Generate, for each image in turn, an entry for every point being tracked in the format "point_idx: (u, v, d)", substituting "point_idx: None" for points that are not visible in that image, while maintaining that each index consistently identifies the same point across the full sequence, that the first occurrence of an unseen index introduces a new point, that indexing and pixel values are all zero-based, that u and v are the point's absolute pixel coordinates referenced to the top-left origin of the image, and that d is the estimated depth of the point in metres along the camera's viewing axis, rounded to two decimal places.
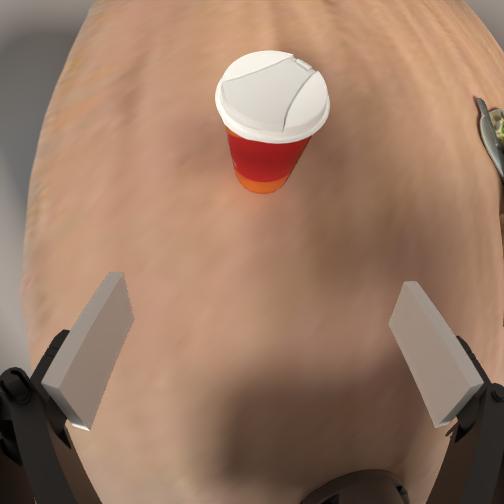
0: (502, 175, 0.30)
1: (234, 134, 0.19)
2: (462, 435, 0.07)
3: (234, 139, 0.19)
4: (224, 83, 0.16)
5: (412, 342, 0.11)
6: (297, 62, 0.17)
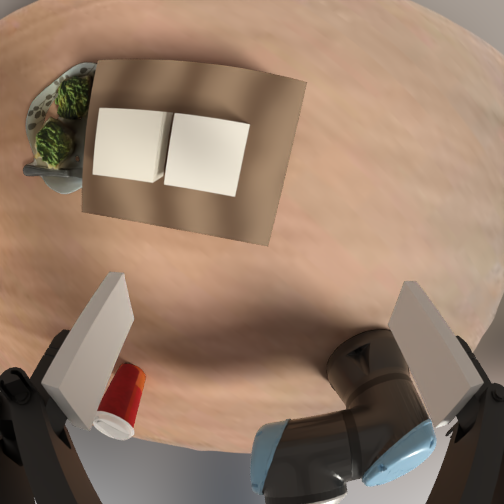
0: None
1: None
2: (462, 435, 0.07)
3: None
4: (114, 438, 0.38)
5: (412, 342, 0.11)
6: (96, 420, 0.36)
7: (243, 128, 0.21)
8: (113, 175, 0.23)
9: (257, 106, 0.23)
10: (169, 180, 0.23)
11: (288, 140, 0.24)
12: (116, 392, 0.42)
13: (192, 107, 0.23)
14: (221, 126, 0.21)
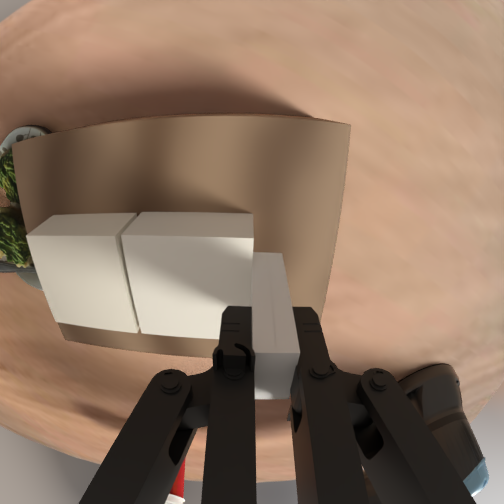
0: None
1: None
2: None
3: None
4: None
5: None
6: None
7: (243, 246, 0.13)
8: (81, 324, 0.15)
9: (273, 182, 0.14)
10: (147, 328, 0.15)
11: (331, 228, 0.16)
12: None
13: (164, 200, 0.15)
14: (204, 248, 0.13)
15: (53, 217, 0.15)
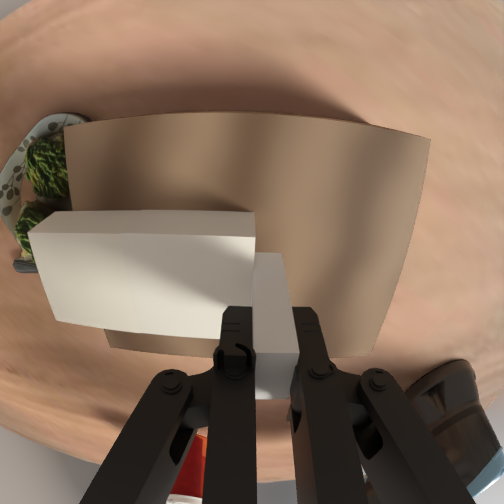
0: None
1: None
2: None
3: None
4: None
5: None
6: None
7: (245, 245, 0.13)
8: (83, 323, 0.15)
9: (364, 187, 0.14)
10: (146, 328, 0.15)
11: (406, 232, 0.16)
12: (185, 470, 0.36)
13: (257, 199, 0.15)
14: (205, 247, 0.13)
15: (55, 214, 0.14)
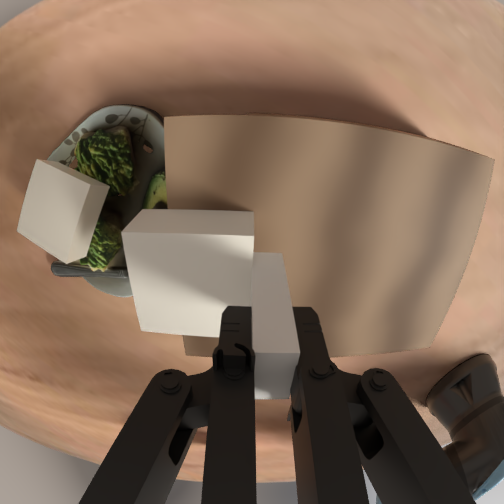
0: None
1: None
2: None
3: None
4: None
5: None
6: None
7: (244, 244, 0.13)
8: None
9: (448, 199, 0.15)
10: (147, 326, 0.15)
11: (472, 237, 0.16)
12: None
13: (367, 206, 0.15)
14: (204, 246, 0.13)
15: (90, 183, 0.17)
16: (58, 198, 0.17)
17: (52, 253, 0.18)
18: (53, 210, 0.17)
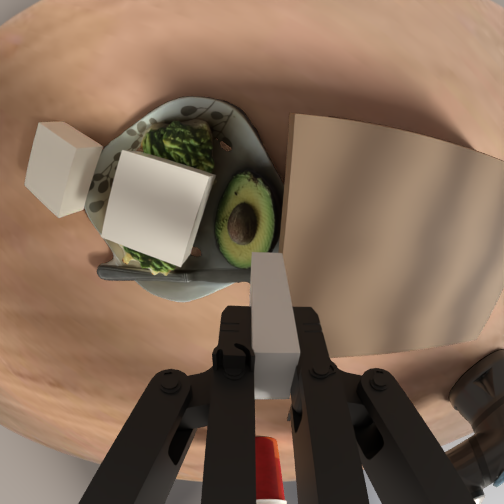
0: None
1: None
2: (302, 419, 0.09)
3: None
4: None
5: None
6: None
7: None
8: (35, 194, 0.20)
9: None
10: None
11: None
12: (261, 473, 0.36)
13: (454, 215, 0.15)
14: None
15: (62, 122, 0.20)
16: None
17: None
18: None
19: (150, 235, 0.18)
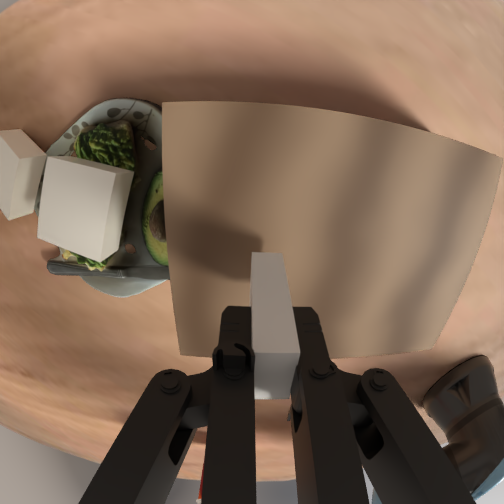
0: None
1: None
2: (302, 420, 0.09)
3: None
4: None
5: None
6: None
7: None
8: None
9: (456, 197, 0.14)
10: None
11: (478, 237, 0.15)
12: None
13: (375, 202, 0.14)
14: None
15: (18, 130, 0.19)
16: None
17: None
18: None
19: (73, 233, 0.17)
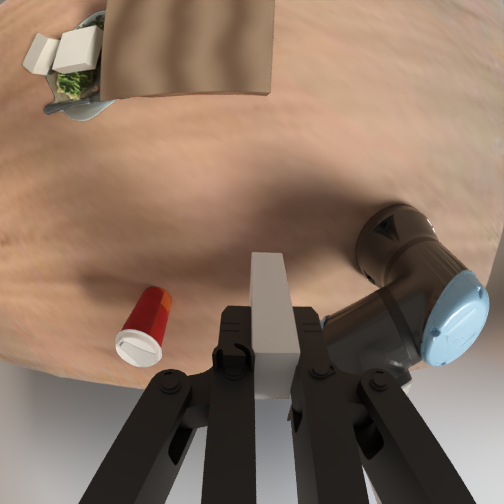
0: None
1: None
2: (302, 420, 0.09)
3: None
4: (141, 366, 0.41)
5: None
6: (119, 343, 0.39)
7: None
8: (25, 66, 0.28)
9: None
10: None
11: (270, 10, 0.23)
12: (140, 311, 0.44)
13: (190, 0, 0.23)
14: None
15: None
16: None
17: None
18: None
19: (72, 56, 0.26)
